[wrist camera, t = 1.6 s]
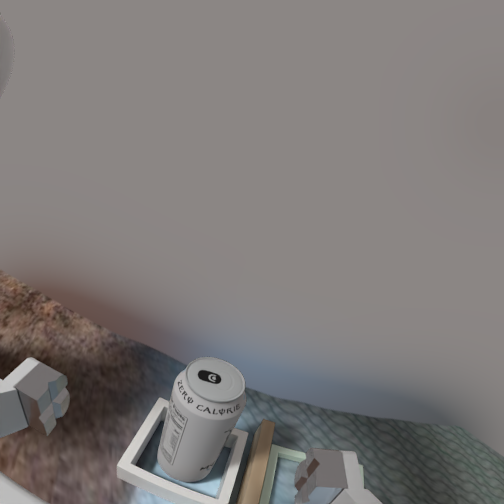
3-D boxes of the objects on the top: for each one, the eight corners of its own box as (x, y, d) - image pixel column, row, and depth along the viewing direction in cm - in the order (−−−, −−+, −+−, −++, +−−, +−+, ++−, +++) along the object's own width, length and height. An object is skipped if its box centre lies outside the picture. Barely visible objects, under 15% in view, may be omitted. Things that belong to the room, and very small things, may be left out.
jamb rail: (224, 540, 20) (234, 533, 19) (254, 434, 35) (263, 419, 34) (239, 544, 20) (250, 537, 19) (265, 437, 35) (275, 422, 34)
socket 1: (117, 476, 23) (116, 465, 22) (156, 411, 34) (159, 397, 33) (218, 518, 23) (225, 510, 22) (240, 445, 33) (248, 432, 32)
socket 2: (249, 535, 21) (252, 532, 21) (269, 447, 34) (271, 444, 33) (359, 549, 20) (364, 547, 20) (358, 468, 33) (362, 465, 32)
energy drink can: (206, 491, 26) (251, 415, 20) (150, 476, 25) (169, 393, 20) (212, 449, 31) (253, 363, 26) (162, 435, 31) (186, 343, 26)
